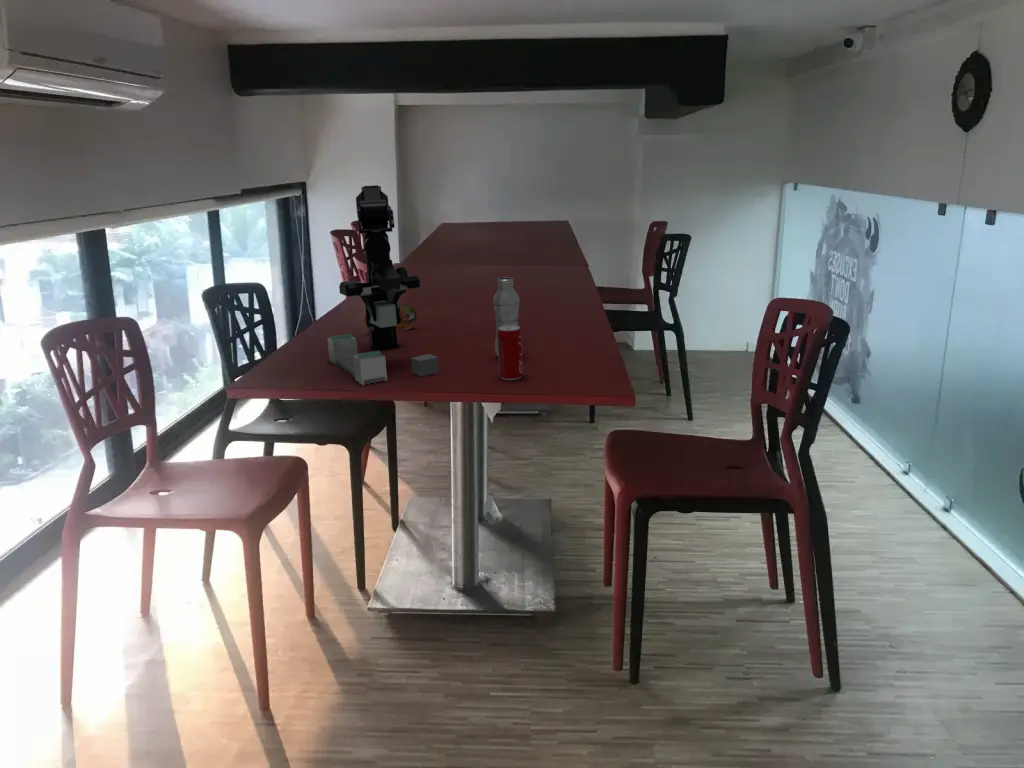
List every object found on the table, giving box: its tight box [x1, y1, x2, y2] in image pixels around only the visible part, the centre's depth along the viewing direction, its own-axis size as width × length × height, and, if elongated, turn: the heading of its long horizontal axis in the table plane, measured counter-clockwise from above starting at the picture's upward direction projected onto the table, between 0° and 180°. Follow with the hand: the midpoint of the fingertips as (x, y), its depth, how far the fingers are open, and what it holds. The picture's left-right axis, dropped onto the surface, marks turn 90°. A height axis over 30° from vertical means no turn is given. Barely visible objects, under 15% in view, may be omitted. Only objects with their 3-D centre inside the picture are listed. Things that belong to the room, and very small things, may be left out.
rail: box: [327, 333, 388, 386], centre depth 189 cm, size 6×26×7 cm, turn 29°
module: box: [370, 301, 397, 328], centre depth 189 cm, size 4×7×5 cm, turn 30°
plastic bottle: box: [492, 276, 521, 357], centre depth 194 cm, size 6×7×20 cm
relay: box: [410, 353, 440, 377], centre depth 185 cm, size 5×4×4 cm
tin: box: [364, 302, 417, 333], centre depth 228 cm, size 15×3×8 cm, turn 114°
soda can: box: [497, 325, 524, 381], centre depth 178 cm, size 6×6×12 cm
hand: (383, 319), depth 190 cm, fingers closed on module, 4 cm apart
